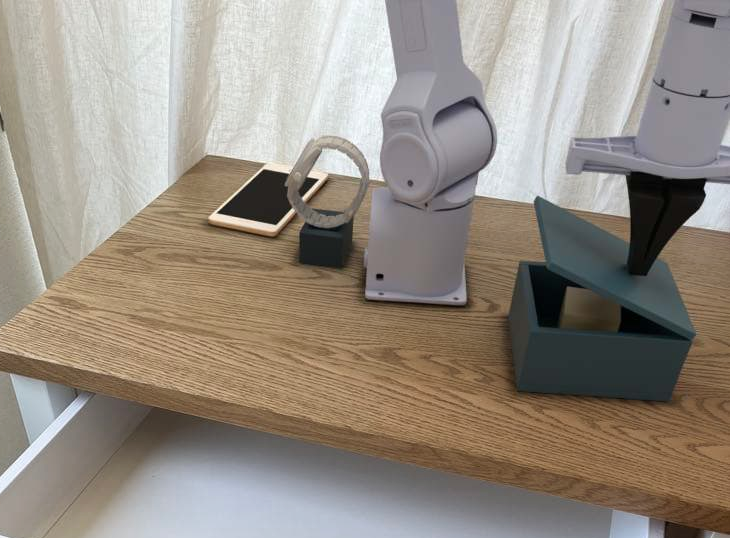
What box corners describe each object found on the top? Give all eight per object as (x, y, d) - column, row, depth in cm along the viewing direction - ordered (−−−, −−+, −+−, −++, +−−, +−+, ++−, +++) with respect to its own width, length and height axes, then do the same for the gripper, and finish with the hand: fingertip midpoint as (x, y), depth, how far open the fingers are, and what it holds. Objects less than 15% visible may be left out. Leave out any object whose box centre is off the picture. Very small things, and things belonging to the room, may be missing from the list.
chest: (516, 391, 68) (530, 331, 64) (507, 317, 76) (519, 260, 72) (668, 401, 68) (692, 341, 64) (643, 326, 76) (663, 269, 71)
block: (552, 360, 70) (564, 313, 67) (555, 332, 73) (567, 286, 70) (606, 368, 70) (621, 321, 66) (606, 340, 73) (621, 293, 69)
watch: (293, 235, 86) (292, 124, 79) (369, 244, 85) (376, 133, 77) (280, 260, 83) (277, 147, 75) (358, 270, 82) (365, 156, 74)
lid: (546, 269, 60) (551, 262, 60) (533, 201, 68) (537, 194, 68) (691, 340, 64) (697, 334, 63) (662, 268, 71) (667, 262, 71)
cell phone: (329, 178, 96) (329, 173, 96) (274, 237, 86) (274, 232, 85) (267, 167, 98) (267, 161, 98) (207, 224, 87) (206, 218, 87)
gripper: (793, 72, 58) (722, 254, 68) (584, 57, 59) (543, 237, 69) (818, 108, 53) (737, 298, 63) (589, 90, 55) (545, 279, 64)
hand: (636, 269), depth 66 cm, fingers closed
